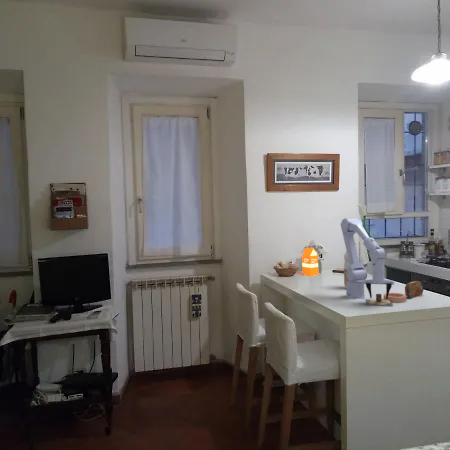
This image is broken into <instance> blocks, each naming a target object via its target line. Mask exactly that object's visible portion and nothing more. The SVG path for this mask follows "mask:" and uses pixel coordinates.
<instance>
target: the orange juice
mask: <svg viewBox="0 0 450 450" xmlns="http://www.w3.org/2000/svg"><path fill="white" fill-rule="evenodd" d="M304 249H305V250H304V251H303V252H302V256H301V258H302V260H301V261H302V263H301V264H302V275H303V274H304V276H309V277H312V276H318V275H319V255H318V253H317V251H316V250H315V248H314V247H305V248H304Z"/></svg>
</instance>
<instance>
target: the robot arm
mask: <svg viewBox="0 0 450 450" xmlns="http://www.w3.org/2000/svg"><path fill="white" fill-rule="evenodd" d="M340 228H341V232H342V237H343V241H344V245H345V250H346V251H347V255H348V259H349V263H350V265H349V267H348V268H347V278H348V280H349V281H347V289H346V292H345V294H346V299H360V300H361V299H365V300H366V294H365V287H366V288H367V291H368V293H369V298H370V299H373V298H372V296H373V294H372V285H385V286H386V287H385V288H386V291H385V292H386V299H388V294H389V293H390V291H391V288H392V287H393V286H394V285H395V281H394V280H392V279H385V259H386V258H387V255H388V253H387V251H386V249H385V248H384V247H381V246H379V244H378V243H377V242H376V240H375V238H374V237H370V236H369V233H367V231H366V229H365V228H364V226H363V221H362V219H360V217H354V218H352V217H351V218H350V217H349V218H346V217H345V218H343V219H342V220H341V222H340ZM355 234H357V235H358V236H359V237H360V238H361V239H362V240H363V243H362V244H363V245H364V247H365V248H366V250H367V251H368V252H369V254H368V255H369V257H370V261H371V265H372V267H371V268H372V270H371V271H372V279H368V271H367V270H366V268H365V266H364V265H363V264H362V263H361V262H360V259H359V257H360V256H359V257H358V254H359V253H358V249H357V246H356V245H355V243H356V242H355V238H354V236H355ZM353 269H356V270H353Z"/></svg>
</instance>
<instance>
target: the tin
mask: <svg viewBox="0 0 450 450" xmlns="http://www.w3.org/2000/svg"><path fill="white" fill-rule="evenodd" d="M404 286H405V287H404V294H405V295H406V296H407V298H408V299H413V298H417V297H421V296H423V293H424V284H423V282H422V281H419V280H415V281H410V282H407V283H406V284H405V285H404Z"/></svg>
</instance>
